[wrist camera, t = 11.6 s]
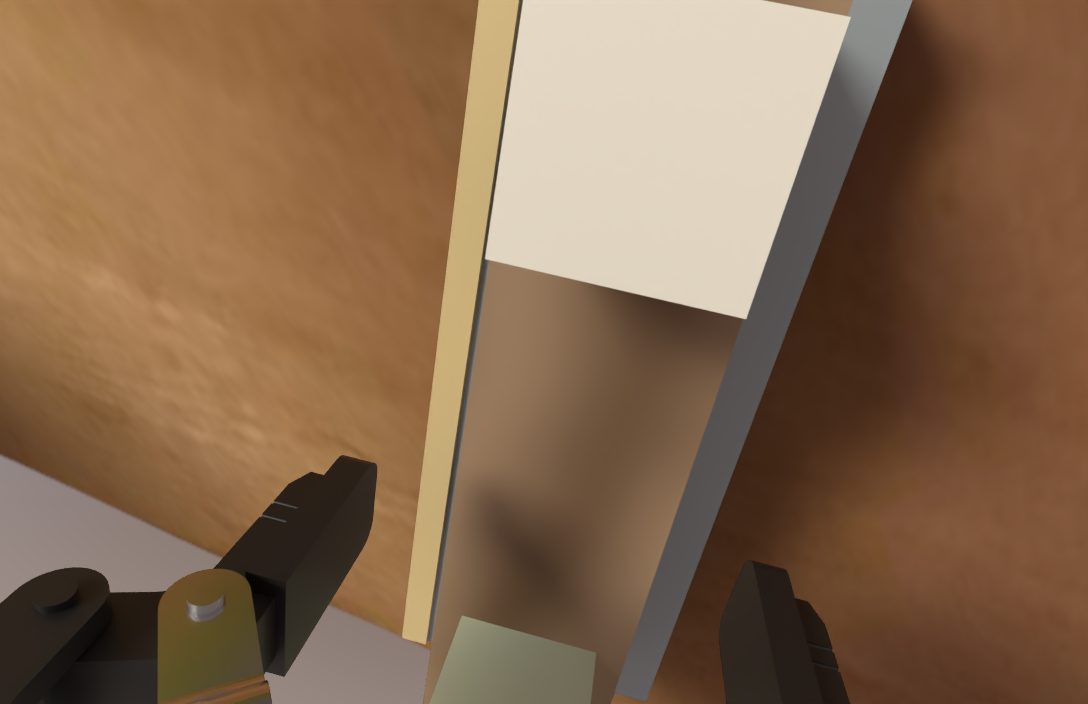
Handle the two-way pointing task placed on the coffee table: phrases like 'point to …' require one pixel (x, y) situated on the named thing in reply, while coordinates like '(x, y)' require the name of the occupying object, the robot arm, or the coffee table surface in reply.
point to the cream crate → (658, 141)
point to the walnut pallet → (576, 456)
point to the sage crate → (512, 668)
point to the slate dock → (753, 355)
